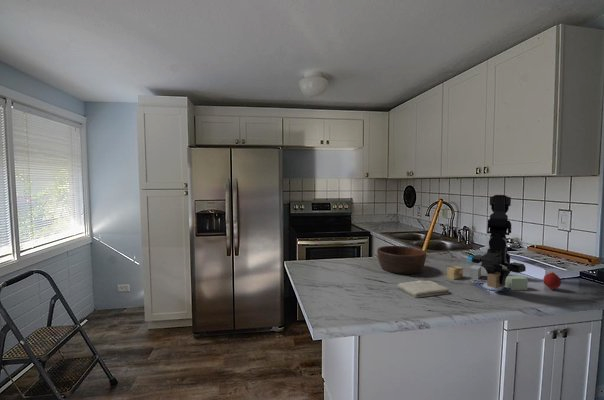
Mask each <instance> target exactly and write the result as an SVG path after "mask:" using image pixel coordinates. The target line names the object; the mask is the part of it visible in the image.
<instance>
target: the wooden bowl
mask: <svg viewBox="0 0 604 400" xmlns="http://www.w3.org/2000/svg"><path fill="white" fill-rule="evenodd" d="M376 253H377V259H378V263H379V265H380V267H381V268H382V269H383V270H384V271H386V272H388V273H393V274H399V275H414V274H415V275H416V274H419V273H420V272H421V271H422V270H423V268H424V266H425V264H426V261H427V260H426V259H427V252H426V251H425V250H423V249H421V248H416V247H412V246H406V245H405V246H404V245H384V246H380V247H378V248H377V249H376Z"/></svg>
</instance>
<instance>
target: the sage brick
mask: <svg viewBox="0 0 604 400" xmlns="http://www.w3.org/2000/svg"><path fill="white" fill-rule="evenodd" d="M528 280H529V278H528V277H525V276H522V275H508V276H507V278H506V280H505V287H506V286H507V287H508V288H507V289H509V288H510V289H509V290H511V291H523V290H525V291H527V290H528V285H529V284H528V283H529V282H528Z"/></svg>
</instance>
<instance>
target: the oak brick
mask: <svg viewBox="0 0 604 400" xmlns="http://www.w3.org/2000/svg"><path fill="white" fill-rule="evenodd" d="M446 269H447V270H446V278H447V279H449V278H450V280H458V279H463V276H464V274H463V273H464V267H461V266H457V265H454V266H450V267H447V268H446Z"/></svg>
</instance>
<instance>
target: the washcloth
mask: <svg viewBox="0 0 604 400" xmlns="http://www.w3.org/2000/svg"><path fill="white" fill-rule="evenodd" d="M397 288H398V289H399V290H400V291H402V292H405V293H406V294H407V295H410V296H411V297H413V298H416V299H417V298H425V297H432V296H439V295H447V294H450V292H449V291H450V289H449V288H448V287H446V286H444V285H443V286H442V285H440V284H438V283H436V281H435V282H434V281H432V280H420V279H419V280H416V281H406V282H400V283H398V284H397Z"/></svg>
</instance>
